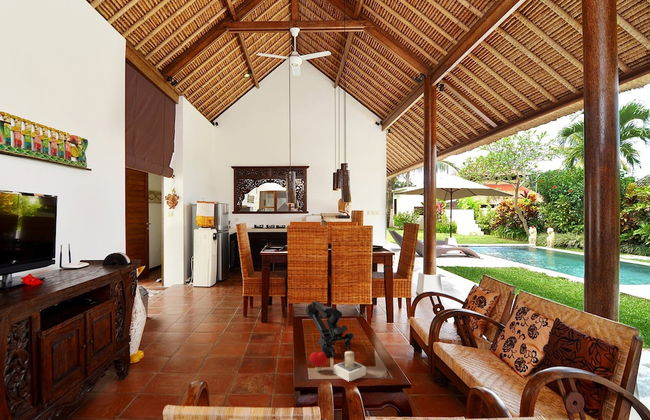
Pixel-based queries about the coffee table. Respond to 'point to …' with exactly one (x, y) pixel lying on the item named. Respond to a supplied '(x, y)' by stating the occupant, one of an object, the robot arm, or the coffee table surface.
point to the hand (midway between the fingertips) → (342, 353)
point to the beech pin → (349, 359)
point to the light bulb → (318, 359)
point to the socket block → (349, 371)
